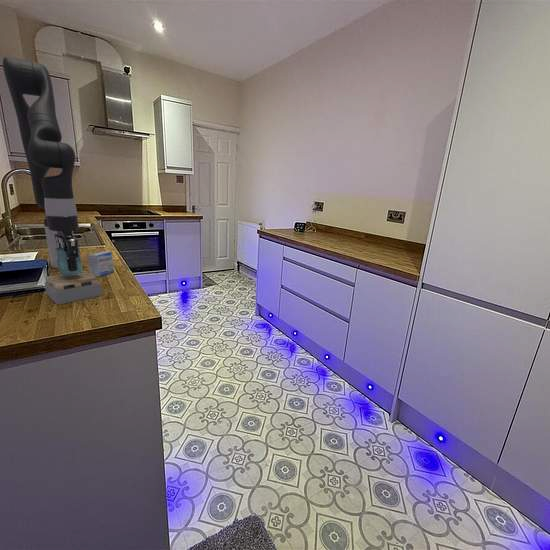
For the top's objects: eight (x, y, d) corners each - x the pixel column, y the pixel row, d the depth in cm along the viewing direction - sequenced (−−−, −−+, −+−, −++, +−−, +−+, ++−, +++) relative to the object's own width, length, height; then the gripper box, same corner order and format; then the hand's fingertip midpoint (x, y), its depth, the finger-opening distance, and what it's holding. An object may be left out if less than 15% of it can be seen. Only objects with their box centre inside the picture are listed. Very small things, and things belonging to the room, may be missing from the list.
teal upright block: (59, 272, 90) (54, 247, 88) (77, 270, 94) (73, 246, 92) (63, 276, 87) (59, 250, 85) (82, 273, 91) (79, 248, 89)
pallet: (46, 282, 91) (45, 276, 90) (86, 276, 99) (85, 270, 98) (56, 291, 84) (55, 284, 83) (98, 283, 92) (97, 277, 92)
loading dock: (46, 294, 92) (44, 282, 91) (88, 286, 101) (87, 275, 100) (57, 304, 84) (55, 292, 83) (101, 295, 93) (100, 283, 92)
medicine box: (99, 277, 111) (96, 255, 109) (89, 276, 112) (86, 254, 110) (114, 272, 119) (112, 251, 116) (105, 271, 119) (102, 250, 117)
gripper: (39, 212, 87) (49, 266, 92) (53, 216, 78) (63, 276, 83) (69, 211, 93) (76, 262, 97) (84, 215, 84) (92, 271, 89)
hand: (70, 268), depth 90 cm, fingers closed on teal upright block, 5 cm apart
